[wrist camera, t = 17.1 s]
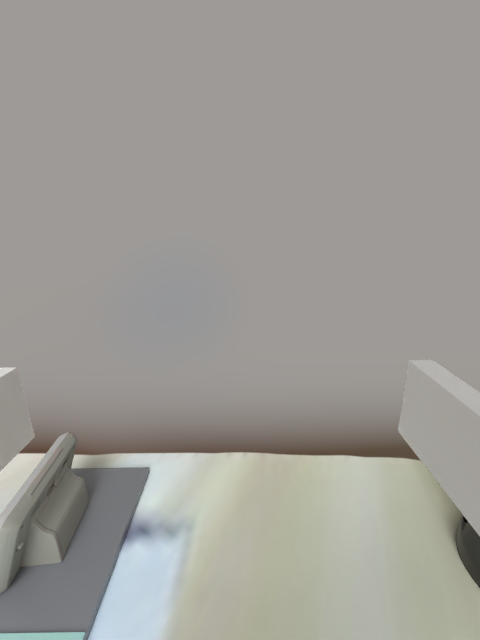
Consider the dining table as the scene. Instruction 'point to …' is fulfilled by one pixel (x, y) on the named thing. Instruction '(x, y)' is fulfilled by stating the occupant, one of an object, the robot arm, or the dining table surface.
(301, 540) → the dining table surface
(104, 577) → the docking pad
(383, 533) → the dining table surface
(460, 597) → the dining table surface
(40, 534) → the digital clock
